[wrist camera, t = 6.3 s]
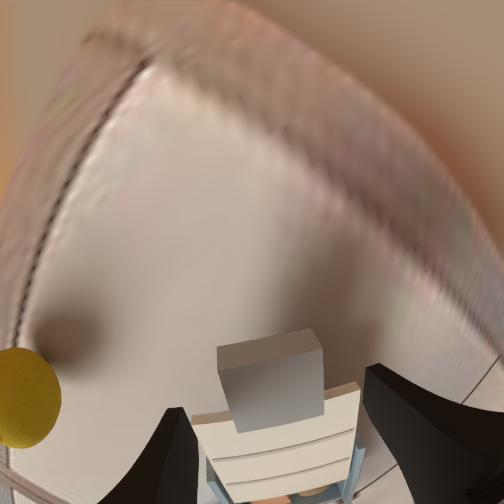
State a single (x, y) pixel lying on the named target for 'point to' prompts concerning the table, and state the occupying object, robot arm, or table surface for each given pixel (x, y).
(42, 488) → the table surface
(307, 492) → the tan rounded piece
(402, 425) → the robot arm
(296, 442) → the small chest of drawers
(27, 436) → the lemon
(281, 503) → the block
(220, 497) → the tub
